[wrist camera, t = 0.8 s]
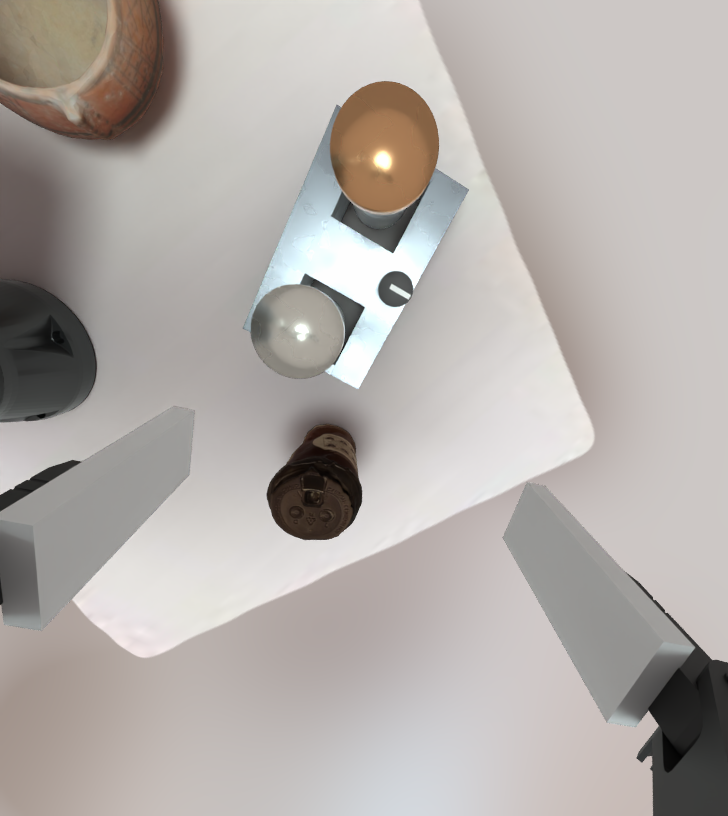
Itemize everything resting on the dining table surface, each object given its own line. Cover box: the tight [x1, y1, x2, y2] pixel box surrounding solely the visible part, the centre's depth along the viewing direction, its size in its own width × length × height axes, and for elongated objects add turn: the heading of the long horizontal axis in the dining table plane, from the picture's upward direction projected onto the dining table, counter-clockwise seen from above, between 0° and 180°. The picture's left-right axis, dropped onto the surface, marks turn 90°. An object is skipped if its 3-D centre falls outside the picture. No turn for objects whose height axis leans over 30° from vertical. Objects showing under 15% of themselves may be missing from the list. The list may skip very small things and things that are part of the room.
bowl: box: [0, 0, 164, 140], centre depth 26 cm, size 16×16×10 cm
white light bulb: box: [251, 284, 345, 379], centre depth 26 cm, size 6×6×10 cm
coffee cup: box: [267, 424, 362, 540], centre depth 36 cm, size 9×8×13 cm
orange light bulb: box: [330, 81, 439, 229], centre depth 23 cm, size 6×6×10 cm
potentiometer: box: [378, 271, 413, 307], centre depth 29 cm, size 3×3×3 cm
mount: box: [243, 105, 469, 389], centre depth 33 cm, size 12×19×6 cm, turn 152°
